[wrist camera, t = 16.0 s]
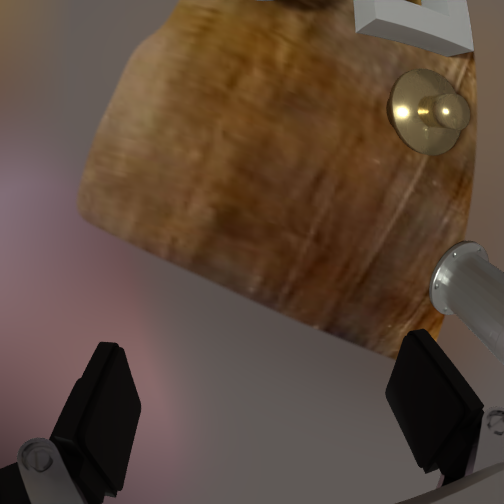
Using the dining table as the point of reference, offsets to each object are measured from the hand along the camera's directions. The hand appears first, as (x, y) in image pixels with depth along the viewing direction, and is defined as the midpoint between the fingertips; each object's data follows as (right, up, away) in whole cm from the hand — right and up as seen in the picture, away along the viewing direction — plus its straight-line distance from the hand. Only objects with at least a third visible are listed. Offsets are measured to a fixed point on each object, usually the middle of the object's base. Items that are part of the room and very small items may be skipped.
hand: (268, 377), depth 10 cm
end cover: (+19, +21, +23) cm, 37 cm away
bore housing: (+19, +37, +17) cm, 45 cm away
